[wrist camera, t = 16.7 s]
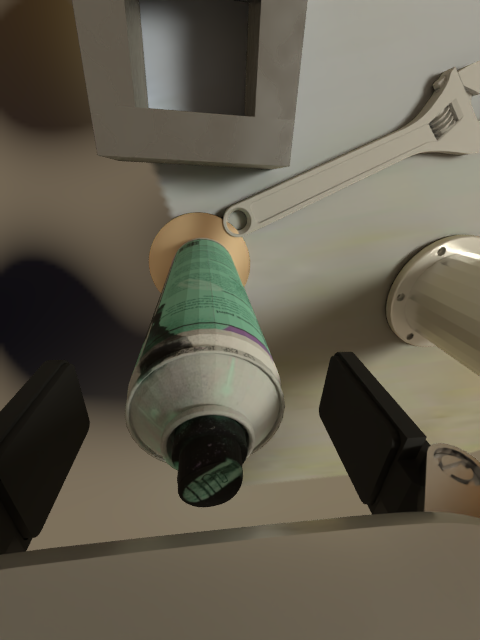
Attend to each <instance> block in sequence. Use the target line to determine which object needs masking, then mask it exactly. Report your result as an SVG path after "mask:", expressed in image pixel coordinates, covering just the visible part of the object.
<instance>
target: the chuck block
mask: <svg viewBox="0 0 480 640" xmlns="http://www.w3.org/2000/svg"><path fill="white" fill-rule="evenodd" d="M236 1H243V2H249V9H248V34H247V58H246V83H245V108H244V116H237V115H224V114H212V113H200V112H188V111H175V110H163V109H151V108H148V98H147V87H146V75H145V64H144V52H143V40H142V29H141V17H140V6H139V0H72V3H73V9H74V15H75V21H76V27H77V33H78V39H79V45H80V52H81V58H82V64H83V69H84V76H85V82H86V88H87V94H88V100H89V106H90V112H91V119H92V125H93V131H94V137H95V142H96V149H97V155H99V156H103V157H107V158H110V159H114V160H118V161H131V162H133V161H134V162H149V163H167V164H185V165H203V166H221V167H239V168H257V169H277V168H283V167H288V166H290V157H291V148H292V139H293V130H294V120H295V111H296V102H297V93H298V83H299V74H300V65H301V56H302V47H303V37H304V28H305V19H306V10H307V0H236Z"/></svg>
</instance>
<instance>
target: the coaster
mask: <svg viewBox="0 0 480 640" xmlns="http://www.w3.org/2000/svg"><path fill="white" fill-rule="evenodd" d="M226 223H227V227H228V228H229V230H230V231H231V232H233V233H235V234H239V233H238V231H237V230H236V229H235V228H234V227H233V226H232V225H231V224H230V223H228V222H226ZM195 238H209V239H213V240H215V241H217V242H219V243H220V244H222V245H223V246H224V247H225V248H226V249H227V251H228V252H229V254H230V255H231V257H232V260H233V262H234V265H235V267H236V270H237V272H238V275H239V277H240V280H241V282H242V284H243V287H244V286H245V284H246V282H247V279H248V276H249V271H250V258H249V252H248V249H247V246H246V244H245V242H244V240H243V238H242V237H234V236H232V235H230V234H229V233H228V232H227V231H226V229H225V227H224V224H223V219H222V218H220V217H218V216H215V215H213V214H208V213H201V212H195V213H187V214H184V215H181V216H178V217H176V218H174V219H172V220H171V221H169V222H168V223H167V224H166V225H165V226H164V227H163V228H162V229H161V230H160V231H159V233H158V234H157V235H156V237H155V239H154V241H153V243H152V245H151V249H150V253H149V269H150V274H151V276H152V279H153V282H154V284H155V286H156V287H157V289H158V290H159V292H160V293H161V292H162V289H163V286H164V284H165V281H166V278H167V275H168V272H169V270H170V267H171V264H172V261H173V258H174V256H175V254H176V252H177V251H178V249H179V248H180V247H181V246H182V245H183V244H184V243H186V242H187V241H189V240H192V239H195Z"/></svg>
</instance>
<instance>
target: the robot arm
mask: <svg viewBox="0 0 480 640" xmlns="http://www.w3.org/2000/svg"><path fill="white" fill-rule="evenodd" d="M386 317H387V320H388V324H389V326H390V328H391V329H392V331H393V332H394V333H395V334H396V335H397V336H398V337H399V338H401V339H402V340H403V341H405V342H406V343H409V344H411V345H414V346H421V347H429V346H437V347H438V348H440V349H441V350H443V351H444V352H446V353H447V354H448V355H450V356H451V357H453V358H454V359H456V360H457V361H458V362H460V363H461V364H463V365H464V366H466V367H467V368H468V369H470V370H471V371H473V372H474V373H476V374H477V375H478V376H480V237H479V236H474V235H455V236H449V237H446V238H443V239H441V240H438V241H436V242H434V243H432V244H430V245H429V246H427V247H425V248H424V249H423V250H421V251H420V252H419V253H417V254H416V255H415V256H414V257H413V258H412V259H411V260H410V261H409V262H408V263H407V264H406V265H405V266H404V267H403V269H402V270H401V271H400V273H399V274H398V275H397V277H396V279H395V281H394V283H393V285H392V286H391V289H390V292H389V295H388V299H387V305H386ZM319 415H320V418H321V420H322V422H323V424H324V426H325V428H326V430H327V432H328V434H329V436H330V438H331V440H332V442H333V444H334V446H335V449H336V451H337V453H338V455H339V457H340V459H341V461H342V463H343V465H344V467H345V469H346V471H347V473H348V475H349V477H350V479H351V481H352V483H353V485H354V487H355V489H356V491H357V493H358V495H359V498H360V499H361V501H362V502H363V503H364V504H367V505H368V507H369V509H370V511H371V513H372V515H362V516H350V517H340V518H331V519H320V520H311V521H300V522H291V523H281V524H270V525H261V526H252V527H241V528H232V529H223V530H212V531H204V532H194V533H184V534H175V535H166V536H156V537H147V538H138V539H129V540H120V541H111V542H102V543H93V544H84V545H75V546H66V547H57V548H49V549H41V550H33V551H26V550H27V548H28V546H29V544H30V542H31V540H32V538H34V537H36V536H38V535H39V533H40V532H41V530H42V528H43V526H44V524H45V522H46V519H47V517H48V515H49V513H50V511H51V509H52V507H53V504H54V502H55V500H56V498H57V496H58V494H59V492H60V490H61V488H62V485H63V483H64V481H65V479H66V477H67V475H68V473H69V471H70V469H71V466H72V464H73V462H74V460H75V458H76V456H77V454H78V451H79V449H80V447H81V445H82V443H83V441H84V439H85V437H86V435H87V432H88V430H89V424H90V421H89V417H88V413H87V410H86V406H85V403H84V399H83V396H82V392H81V388H80V385H79V381H78V378H77V374H76V371H75V367H74V365H73V364H69V362H68V361H66V360H48V361H46V362H44V363H43V364H42V366H41V367H40V368H39V369H38V370H37V371H36V372H35V374H34V375H33V376H32V377H31V378H30V379H29V380H28V381H27V382H26V383H25V385H24V386H23V387H22V388H21V389H20V390H19V391H18V392H17V393H16V395H15V396H14V397H13V398H12V399H11V400H10V401H9V403H8V404H7V405H6V406H5V407H4V408H3V409H2V410H1V411H0V640H480V462H479V461H478V460H477V459H476V458H475V457H473V456H472V455H470V454H469V453H467V452H466V451H464V450H462V449H460V448H458V447H455V446H452V445H449V444H444V443H436V444H432V445H430V444H429V443H428V442H427V441H426V440H425V439H426V436H425V435H424V433H423V432H422V431H421V430H420V429H419V428H418V427H417V425H416V424H415V423H414V422H413V421H412V420H411V418H410V417H409V416H408V415H407V414H406V413H405V412H404V410H403V409H402V408H401V407H400V406H399V405H398V404H397V402H396V401H395V400H394V399H393V398H392V397H391V395H390V394H389V393H388V392H387V391H386V390H385V389H384V387H383V386H382V385H381V384H380V383H379V382H378V381H377V379H376V378H375V377H374V376H373V375H372V374H371V373H370V371H369V370H368V369H367V368H366V367H365V366H364V364H363V363H362V362H361V361H360V360H359V359H358V358H357V356H356V355H355V354H354V353H353V352H337V353H336V354H335V355H334V356H332V357H331V358H330V362H329V367H328V371H327V375H326V380H325V384H324V388H323V393H322V397H321V401H320V406H319Z"/></svg>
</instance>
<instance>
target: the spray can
mask: <svg viewBox="0 0 480 640" xmlns="http://www.w3.org/2000/svg"><path fill="white" fill-rule="evenodd" d="M284 408H285V405H284V395H283V392H282V390H281V379H280V377H279V374H278V371H277V368H276V366H275V363H274V361H273V358H272V356H271V353H270V351H269V348H268V346H267V344H266V341H265V339H264V336H263V334H262V331H261V329H260V326H259V324H258V321H257V319H256V316H255V314H254V312H253V309H252V307H251V304H250V302H249V299H248V297H247V294H246V292H245V289H244V287H243V284H242V282H241V280H240V277H239V275H238V272H237V270H236V267H235V265H234V262H233V260H232V257H231V255H230V254H229V252H228V251H227V249H226V248H225V247H224V246H223V245H222V244H220V243H219V242H217V241H215V240H213V239H209V238H195V239H192V240H189V241H187V242H186V243H184V244H183V245H182V246H181V247H180V248H179V249H178V251H177V252H176V254H175V256H174V258H173V261H172V264H171V267H170V270H169V272H168V275H167V278H166V281H165V284H164V286H163V289H162V292H161V295H160V298H159V301H158V304H157V306H156V309H155V312H154V315H153V318H152V321H151V323H150V326H149V329H148V332H147V335H146V337H145V341H144V343H143V346H142V349H141V351H140V354H139V357H138V360H137V363H136V366H135V368H134V371H133V374H132V377H131V380H130V383H129V386H128V395H127V402H126V408H125V409H126V410H125V420H126V425H127V428H128V431H129V433H130V435H131V436H132V438H133V440H134V441H135V442H136V443H137V444H138V446H139V447H140V448H141V449H143V450H144V451H145V452H147V453H148V454H149V455H151V456H153V457H155V458H156V459H158V460H160V461H163V462H165V463H168V464H169V465H170V466H171V467H172V468H174V469H176V470H178V477H177V481H178V482H177V483H178V494H179V496H180V498H181V499H182V500H183V501H184V502H186V503H187V504H190V505H192V506H196V507H211V506H216V505H219V504H222V503H225V502H227V501H228V500H230V499H231V498H233V497H234V496H235V495H236V493H237V492H238V490H239V489H240V487H241V484H242V480H243V470H242V464H243V463H244V461H245V460H246V459H247V458H248V457H249V455H251V454H253V453H254V452H256V451H257V450H259V449H260V448H261V447H263V446H264V445H265V444H266V443H267V442H268V441H269V440H270V439H271V438H272V437H273V435H274V434H275V432H276V431H277V429H278V428H279V425H280V423H281V421H282V418H283V413H284Z"/></svg>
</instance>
